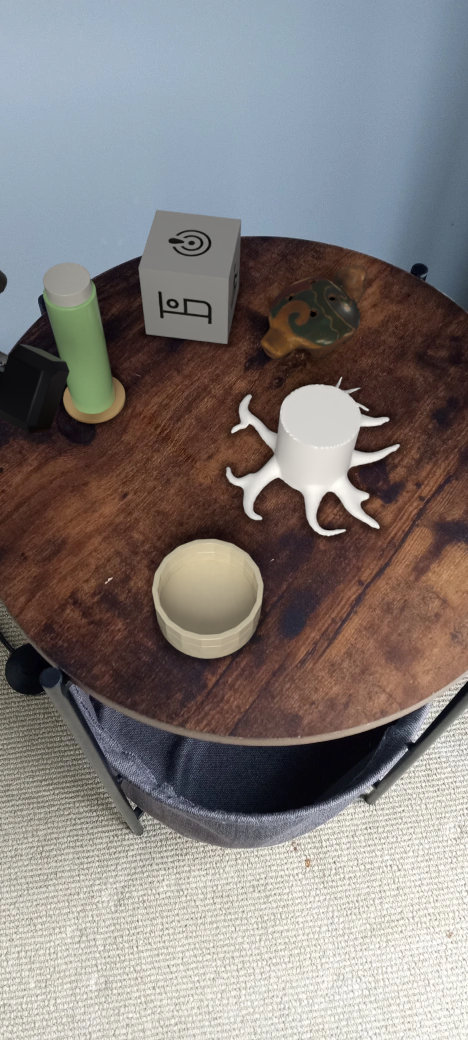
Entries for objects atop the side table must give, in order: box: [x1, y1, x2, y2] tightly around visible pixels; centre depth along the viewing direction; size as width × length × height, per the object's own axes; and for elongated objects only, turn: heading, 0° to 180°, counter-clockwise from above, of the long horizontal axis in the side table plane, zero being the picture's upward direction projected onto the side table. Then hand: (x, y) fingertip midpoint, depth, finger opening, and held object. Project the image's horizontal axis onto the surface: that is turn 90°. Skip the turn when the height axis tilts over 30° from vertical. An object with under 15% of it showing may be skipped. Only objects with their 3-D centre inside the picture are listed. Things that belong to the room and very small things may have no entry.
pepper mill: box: [42, 262, 115, 414], centre depth 75 cm, size 5×5×17 cm
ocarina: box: [260, 264, 368, 360], centre depth 85 cm, size 10×15×8 cm, turn 135°
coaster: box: [62, 376, 127, 424], centre depth 82 cm, size 7×7×1 cm
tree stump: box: [225, 376, 401, 537], centre depth 75 cm, size 20×19×8 cm
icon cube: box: [138, 209, 242, 345], centre depth 86 cm, size 10×10×10 cm
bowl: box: [151, 538, 264, 659], centre depth 67 cm, size 10×10×5 cm
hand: (25, 358), depth 67 cm, fingers open, 9 cm apart
